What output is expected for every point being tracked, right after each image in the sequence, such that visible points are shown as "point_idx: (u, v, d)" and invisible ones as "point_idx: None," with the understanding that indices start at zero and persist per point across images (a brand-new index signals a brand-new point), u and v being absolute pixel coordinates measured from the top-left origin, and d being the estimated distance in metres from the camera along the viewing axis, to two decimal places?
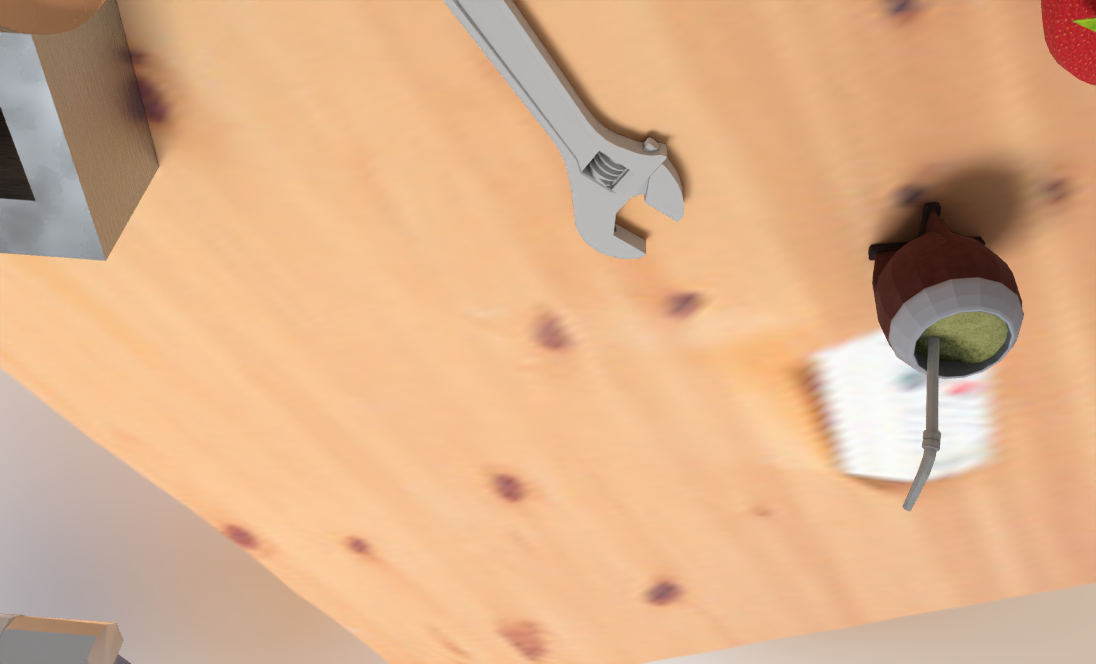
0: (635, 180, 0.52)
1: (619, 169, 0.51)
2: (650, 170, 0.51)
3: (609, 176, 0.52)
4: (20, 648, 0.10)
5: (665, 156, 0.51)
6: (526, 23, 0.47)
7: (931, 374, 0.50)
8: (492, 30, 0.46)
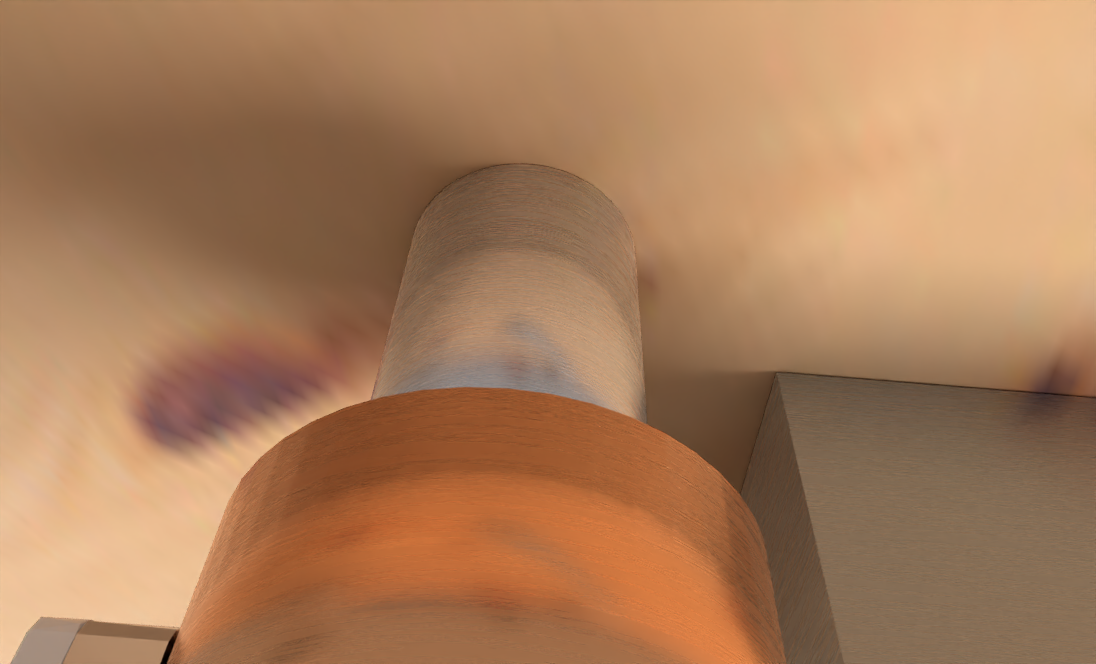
0: None
1: None
2: None
3: None
4: (93, 653, 0.10)
5: None
6: None
7: None
8: None
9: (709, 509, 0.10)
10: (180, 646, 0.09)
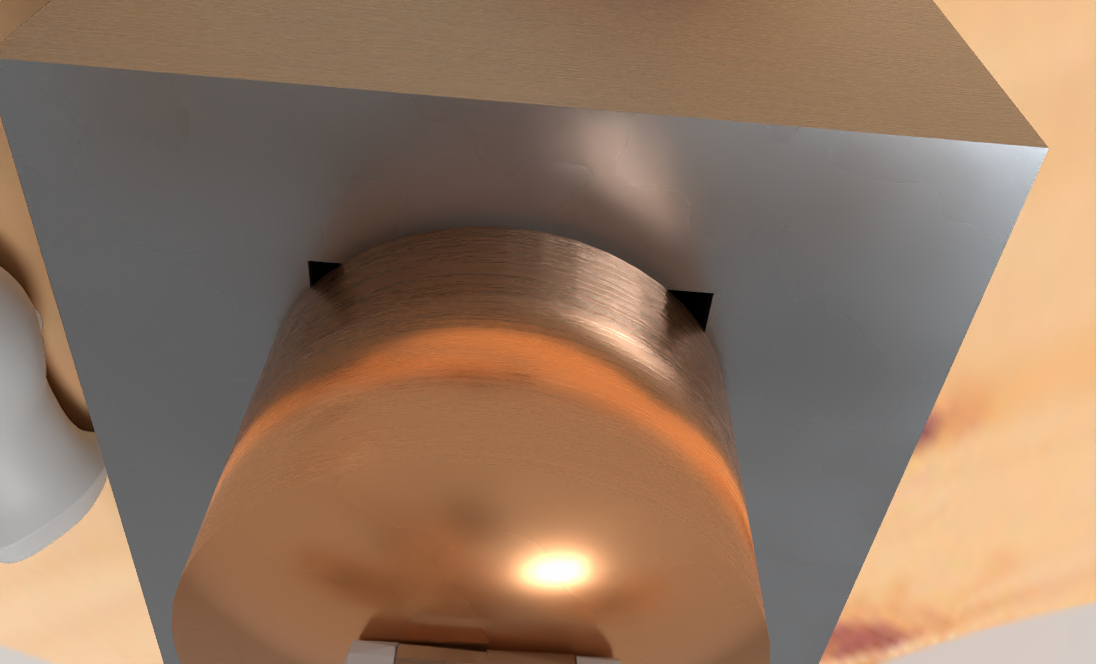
0: None
1: None
2: None
3: None
4: None
5: None
6: None
7: None
8: None
9: (673, 325, 0.12)
10: (245, 425, 0.11)
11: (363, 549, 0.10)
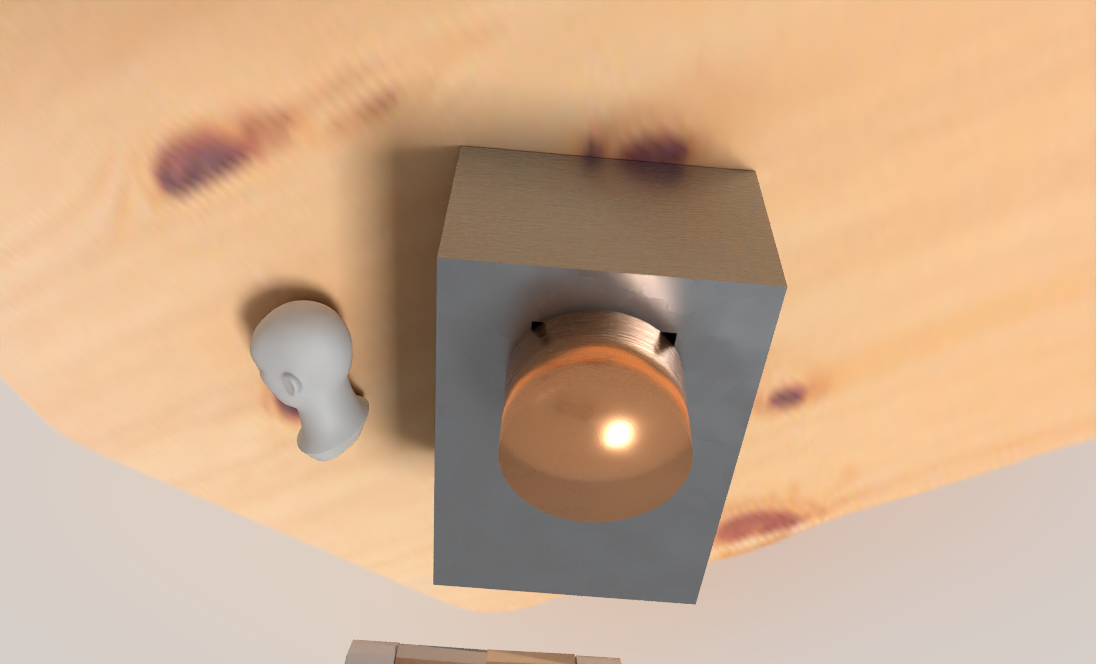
0: None
1: None
2: None
3: None
4: None
5: None
6: None
7: None
8: None
9: (662, 345, 0.34)
10: (518, 378, 0.33)
11: (567, 413, 0.32)
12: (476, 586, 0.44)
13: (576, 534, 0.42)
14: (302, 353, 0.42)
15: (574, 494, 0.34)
